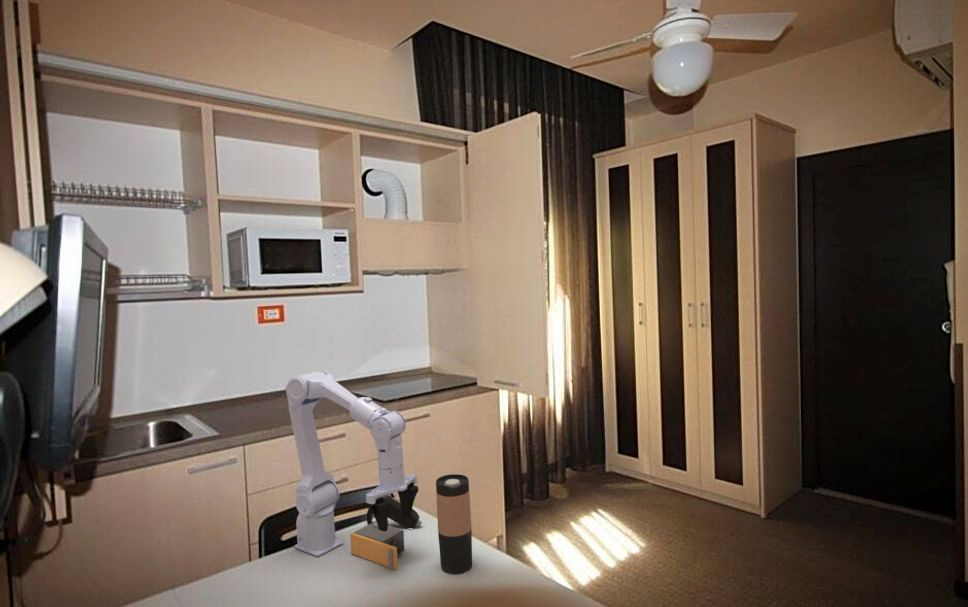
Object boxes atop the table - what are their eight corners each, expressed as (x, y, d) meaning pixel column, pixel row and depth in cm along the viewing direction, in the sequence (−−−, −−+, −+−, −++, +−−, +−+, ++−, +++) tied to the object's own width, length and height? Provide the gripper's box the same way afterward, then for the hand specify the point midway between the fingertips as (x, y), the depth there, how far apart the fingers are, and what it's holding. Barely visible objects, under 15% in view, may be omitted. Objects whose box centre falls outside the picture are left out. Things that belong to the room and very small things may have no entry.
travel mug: (454, 554, 129) (449, 472, 128) (480, 563, 124) (475, 477, 124) (433, 569, 123) (428, 482, 122) (459, 578, 118) (454, 488, 118)
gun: (408, 550, 144) (423, 517, 143) (356, 520, 147) (370, 488, 146) (412, 545, 147) (426, 513, 146) (361, 516, 150) (375, 484, 149)
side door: (348, 554, 131) (347, 534, 131) (352, 551, 133) (351, 532, 132) (393, 570, 122) (392, 549, 122) (397, 568, 124) (396, 547, 123)
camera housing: (355, 552, 133) (353, 529, 132) (376, 540, 138) (375, 519, 138) (388, 564, 126) (387, 540, 126) (409, 551, 132) (408, 529, 131)
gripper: (379, 478, 117) (384, 540, 117) (424, 458, 129) (428, 515, 129) (357, 473, 121) (362, 533, 121) (403, 455, 133) (407, 509, 133)
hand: (395, 523), depth 125 cm, fingers open, 7 cm apart
